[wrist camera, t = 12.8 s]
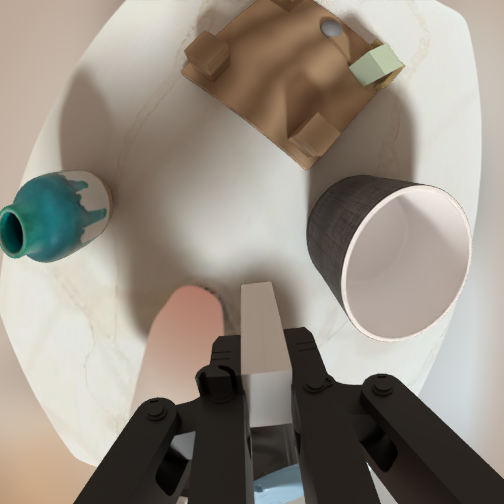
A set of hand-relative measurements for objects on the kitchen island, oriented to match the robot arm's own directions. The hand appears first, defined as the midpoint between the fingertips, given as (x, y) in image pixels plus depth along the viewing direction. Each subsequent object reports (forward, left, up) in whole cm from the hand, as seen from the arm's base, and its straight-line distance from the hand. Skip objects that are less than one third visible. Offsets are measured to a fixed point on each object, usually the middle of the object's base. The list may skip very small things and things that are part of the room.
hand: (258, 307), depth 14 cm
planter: (-15, -9, -27) cm, 32 cm away
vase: (+20, +13, -27) cm, 36 cm away
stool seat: (+9, -21, -26) cm, 35 cm away
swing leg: (+5, -28, -24) cm, 37 cm away
